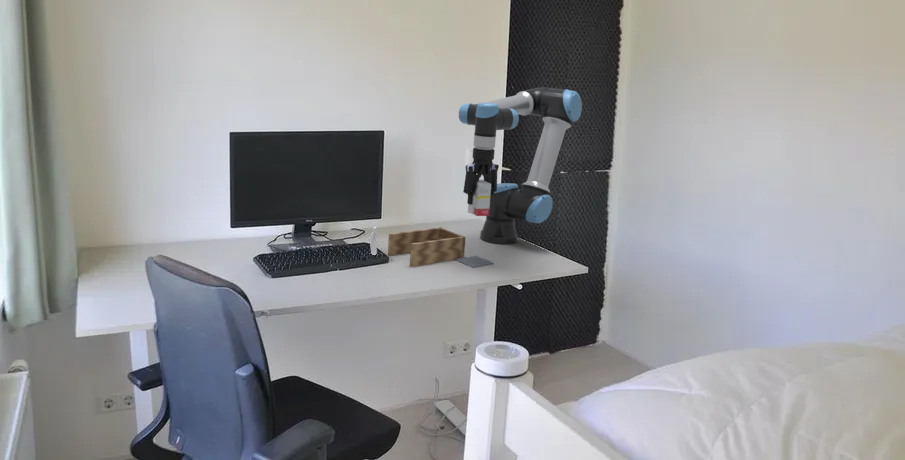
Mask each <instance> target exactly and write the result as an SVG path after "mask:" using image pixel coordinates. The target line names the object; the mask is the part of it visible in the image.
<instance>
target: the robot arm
mask: <svg viewBox="0 0 905 460" xmlns="http://www.w3.org/2000/svg"><path fill="white" fill-rule="evenodd" d="M582 110H583V102H582V98H581V96H580V94H579V93H578V92H577V91H575V90H570V89H567V88H566V89H563V88H562V89H561V88H551V87H547V86H546V87H535V88H530V89H527V90H522V91H521V90H520V91H519V92H517V93H516V94H515V95H511V96H506V97H503V98H498V99H495V100H488V101H483V102H479V103H474V104H473V103H470V102H469V103H463V104H462V105H461V106H460V107H459V110H458V119H459V121H460V122H461V124H466V125H468V126H474V133H473V134H474V135H473V149H472V159H473V161H472V163H471V164H469V165H468V164H466V165H465V179H464V185H463V193H464V194H466V195H467V200H466V201H467V205H468V206H467V213H468V214H471V215H474V211H475V200H476V196H475V195H474V193H475V190H476V187H477V182H478V181H479V179H481V177H482V176H483V177H482V178H483V180H484V181H487V182H488V183H490V184H491V193H490V205H489V216H485V221H484V224H483V225H482V226H483V227H482V230H481V231H480V235H479V239H481V240H482V241H484V242H488V243H491V244H499V245H509V244H510V245H511V244H515V243H516V242H518V233H517V228H516V223H515V222H516V221H515V219H517V220H521V221H525V222H528V223H534V224H541V223H543V222H544V221H546V220H547V219H548V218H549V216H550V214H551V212H552V209H553V206H554V205H553V202H554V201H553V198H552V197H551V191H550V188H549V185H550V182H551V180H552V176H553V173H554V170H555V166H556V163H557V159H558V156H559V152H560V150H561V146H562V143H563V140H564V136H565V133H566V130H568V129H569V128H571V127H572V124H573V123H574V122H577V121H579V119H580V118H581V114H582ZM519 115H520V116H528V115H529V116H538V117H542V121H543V123H544V126H543V128H542V132H541V136H540V138H539V141H538V145H537V147H536V151H535V155H534V157H533V161H532V165H531V167H530V171H529V173H528V177H527V180H526V181H525V182H523V183H522V184H521V186H520V188H519V185H518V184H517V183H509V182H504V183H503V182H502V183H501V182H500V183H498V170H499V164H496V163H494V162H493V160H494V159H495V149H494V148H496V138H497V137H496V136H497V131H502V130H503V131H504V130H506V131H508V130H513V129H515V128H516V127H517V126H518V124H519V121H520V118H519Z"/></svg>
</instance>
